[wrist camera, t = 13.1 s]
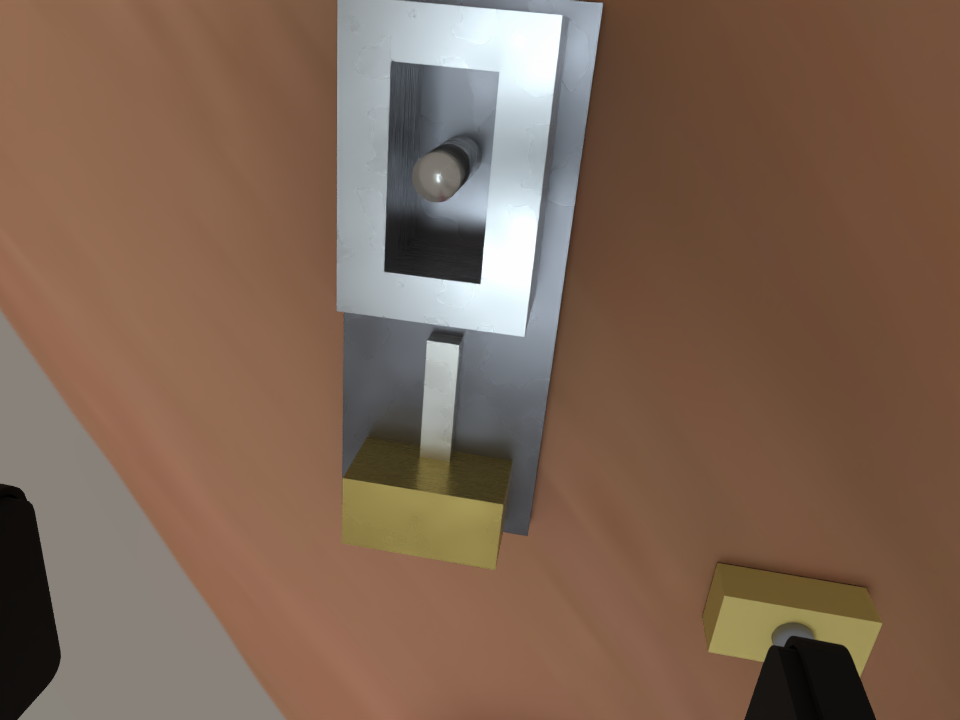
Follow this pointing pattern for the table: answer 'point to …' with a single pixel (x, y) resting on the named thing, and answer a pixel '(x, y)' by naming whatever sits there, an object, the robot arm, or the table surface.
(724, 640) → the block
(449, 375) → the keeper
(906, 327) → the table surface
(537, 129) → the link
